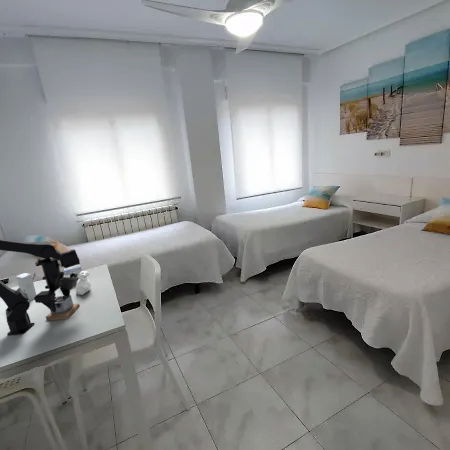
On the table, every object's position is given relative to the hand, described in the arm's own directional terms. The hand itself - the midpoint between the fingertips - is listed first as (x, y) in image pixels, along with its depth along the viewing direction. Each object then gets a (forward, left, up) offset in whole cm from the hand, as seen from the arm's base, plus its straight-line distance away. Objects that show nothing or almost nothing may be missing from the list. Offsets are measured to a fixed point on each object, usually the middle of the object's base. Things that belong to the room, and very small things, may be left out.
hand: (61, 305), depth 114 cm
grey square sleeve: (0, 0, -2) cm, 2 cm away
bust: (+19, +1, -4) cm, 19 cm away
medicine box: (+30, +12, -4) cm, 33 cm away
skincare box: (+16, +27, -4) cm, 32 cm away
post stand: (0, 0, -4) cm, 4 cm away
